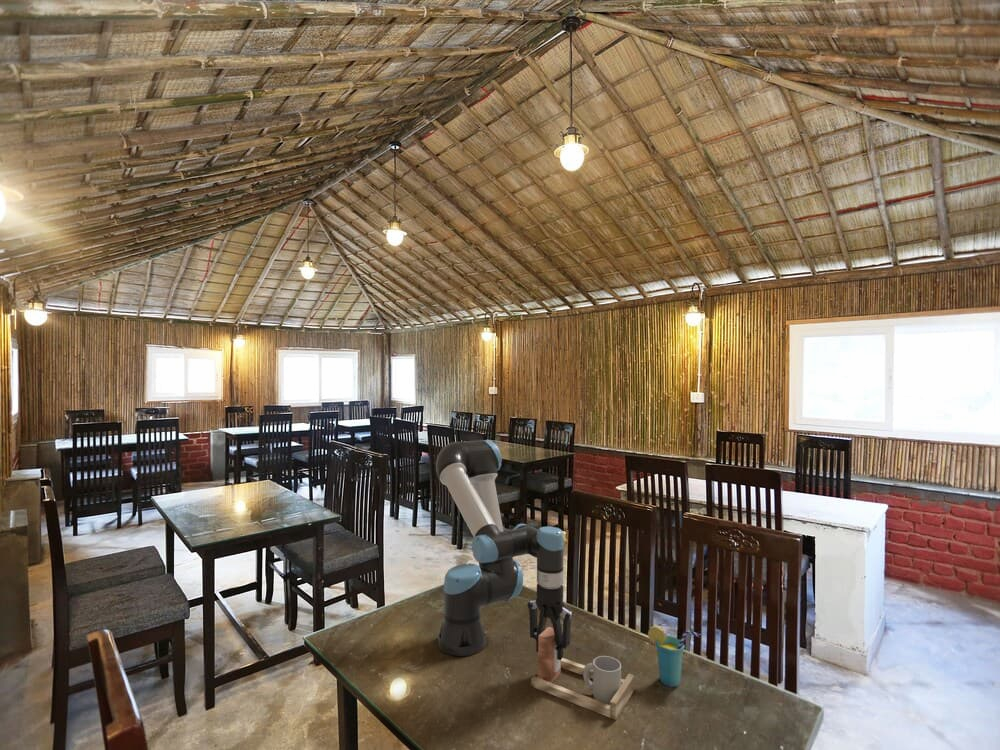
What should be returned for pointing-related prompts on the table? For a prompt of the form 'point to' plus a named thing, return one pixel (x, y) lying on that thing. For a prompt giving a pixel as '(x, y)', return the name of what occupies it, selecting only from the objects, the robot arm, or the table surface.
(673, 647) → the cup
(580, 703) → the frame
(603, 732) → the table surface
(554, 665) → the robot arm
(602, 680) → the cup
